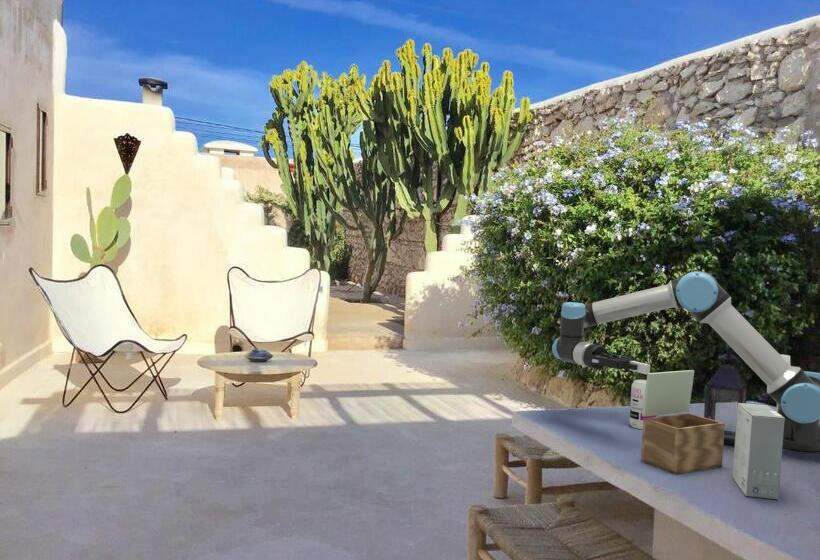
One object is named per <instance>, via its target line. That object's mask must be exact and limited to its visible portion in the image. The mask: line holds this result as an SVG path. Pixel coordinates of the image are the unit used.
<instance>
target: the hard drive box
mask: <svg viewBox="0 0 820 560" xmlns="http://www.w3.org/2000/svg"><path fill="white" fill-rule="evenodd" d="M736 409H737V410H736V421H735V437H734V451H733V462H732V463H733V464H732V479H733V480H734V482H735V483H736V484H737V485H738V487H739V488H740V490H741V492H742V493H743V494H744V496H745V497H746V496H747V497H755V498H761V499H772V500H779V498H780V497H779V496H780V485H781V473H782V472H781V471H782V458H783V447H782V446H783V433H784V421H785V418H784V417H783V416H781V415H780V414H779V413H777V412H776V411H777V410H775V409H773V408H771V407H770V406H769V405H766V404H757V403H756V404H755V403H754V404H753V403H744V402H742V403H741V402H738V403H737V408H736Z"/></svg>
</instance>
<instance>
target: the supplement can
mask: <svg viewBox="0 0 820 560" xmlns="http://www.w3.org/2000/svg"><path fill="white" fill-rule="evenodd" d="M646 381H647V379H634V380H633V382H632V383H631V388H630V390H631V392H630V404H629V405H630V406H629V407H630V408H629V425H630V426H631V427H632V428H634V429H637V430H642V431H643V418H652V417H657V415H654V416H645V417H644V416H642V412H643V404H644V396H645V389H646Z"/></svg>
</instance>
